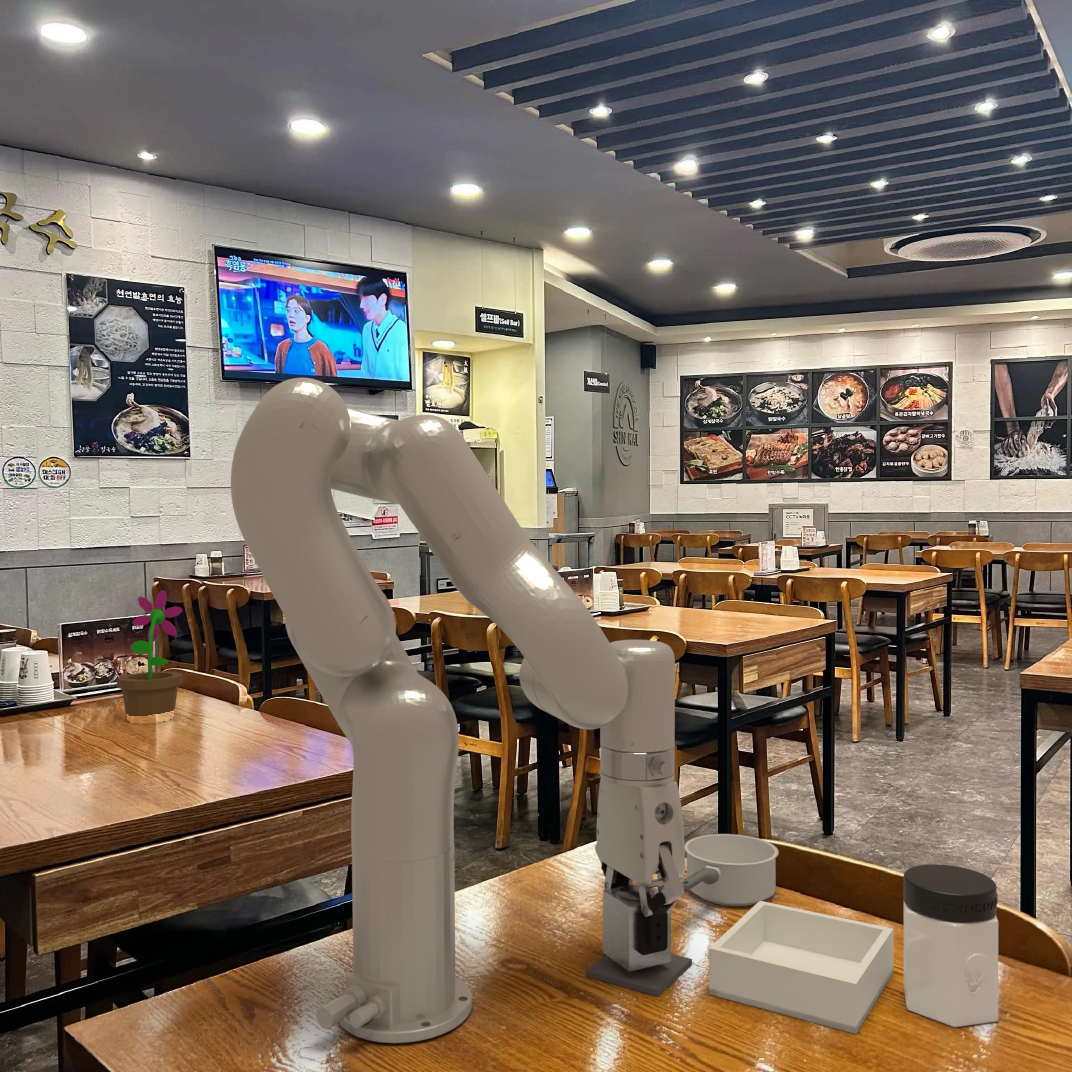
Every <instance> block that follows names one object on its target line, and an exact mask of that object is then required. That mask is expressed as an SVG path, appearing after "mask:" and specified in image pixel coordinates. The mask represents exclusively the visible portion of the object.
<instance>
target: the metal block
mask: <svg viewBox="0 0 1072 1072" xmlns="http://www.w3.org/2000/svg"><path fill="white" fill-rule="evenodd" d="M649 889H650V895H651V899H652V898H653V897H654V896H655V894H656V893H658V889H656V887H654V888H649ZM640 913H642V908H641V901H640V894H639V887H638V883H637V882H636V883H634V884H633V883H632V885H627V886H622V887H617V888H612V889H607V890H605V889H602V953H603V954H605V955H607V956H609V957H610V958H611V959H613V960H614V961H615V962H617V963H618V964H619V965H621V966H622V967H623V968H625V969H626V970H627V971H629V972H630V971H634V970H638V969H642V968H647V967H651V966H655V965H659V964H663V963H667V962H671V954H672V910H671V911H670V912H668V946H667V949H666V950H664V951H660V952H656V953H652V954H648V955H641V954H640V953H639V952H638V914H640Z"/></svg>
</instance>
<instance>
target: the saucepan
mask: <svg viewBox="0 0 1072 1072" xmlns="http://www.w3.org/2000/svg"><path fill="white" fill-rule="evenodd" d="M684 846H685V852H686V878H685V879H683V880H681V882H682V885H683V888H684V893H685V892H687V891H689V890H690V891H691V892H692V893H693V894H695V895H697V896H698V897H700V898H701V899H702V900H704V901H707V902H709V903H713V904H715V905H721V906H726V907H727V906H729V907H745V906H752V905H753V906H754V905H756V904H757V903H758V902H759V901H764V900H766V899H769V898H770V897H772V896H774V895H775V893H776V888H777V887H776V885H777V884H776V858H777V857H778V856H779V853H780V851H779V849H778V848H777V846H775V844H773V843H771V842H769V841H767V840H764V839H761V838H758V837H755V836H754V837H753V836H749V835H742V834H733V833H715V834H705V835H700V836H696V837H693V838H691V839H688V840H687V841H685V842H684Z"/></svg>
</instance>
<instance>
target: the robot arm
mask: <svg viewBox="0 0 1072 1072" xmlns="http://www.w3.org/2000/svg"><path fill="white" fill-rule="evenodd" d="M250 414H251V415H249V417H248V419H247V421H246V423H245V424H244V427H243V429H242V431H241V433H240V435H239V437H238V439H237V443H236V446H235V448H234V452H233V453H234V454H233V458H232V462H231V463H232V464H231V472H230V496H231V502H232V509H233V512H234V517H235V519H236V522H237V525H238V527H239V531H240V533H241V536H242V538H243V540H244V542H245V545H246V546H247V549H249V552H250V554H251V556H252V558H253V559H254V561H255V564H256V565H257V567H258V569H259V571H260V573H261V575H262V577H263V579H264V580H265V582H266V583H265V584H266V585H267V586H268V589H269V590H270V592H271V594H272V595H273V597H274V599H275V601H276V603H277V605H278V606H279V608H280V610H281V611H282V613H283V616H284V619H285V620H284V621H285V629H286V632H287V636H288V638H289V640H290V642H291V645H292V646H293V648H294V651H296V653H297V655H298V657H299V659H300V660H301V662H302V664H303V666H304V668H305V669H306V671H307V673H308V675H309V676H310V678H311V680H312V682H313V684H314V685H315V686H316V688H317V691H318V692H319V694H320V695H321V697H322V699H323V700H324V702H325V704H326V705H327V707H328V709H329V710H330V712H331V714H332V716H333V718H334V720H336V722H337V725H338V726H339V728H340V729H341V731H342V733H343V734H344V736H345V737H346V739H347V740H348V742H349V745H351V747H352V758H353V761H352V762H353V767H352V770H353V773H352V792H351V811H350V812H351V814H350V815H351V817H350V818H351V821H350V823H351V826H350V827H351V830H350V831H351V833H350V834H351V841H350V842H351V843H350V844H351V872H352V873H351V874H352V876H351V878H352V881H351V883H352V884H351V885H352V886H351V887H352V888H351V889H352V958H353V959H352V964H353V965H352V967H353V971H351V972H349V973H348V974H346V975H345V989H343V990H342V991H341V993H340V994H339V995H338V996H339V997H337V998H334V999H333V1000H331V1001H329V1002H327V1003H325V1004H323V1005H322V1006H320V1007H318V1008H317V1011H316V1020H317V1023H318V1025H319V1026H320V1027H321V1028H322V1029H324V1030H329V1029H331V1028H333V1027H334V1026H336V1025H338V1024H339V1025H340V1026H341V1027H342V1028H343V1029H344V1030H345V1031H346V1032H348V1033H349V1034H351V1035H353V1036H355V1037H357V1038H360V1039H362V1040H366V1041H371V1042H375V1043H383V1044H384V1043H385V1044H406V1043H415V1042H420V1041H425V1040H426V1041H427V1040H429V1039H433V1038H435V1037H438V1036H442V1035H444V1034H446V1033H449V1032H450V1031H452V1030H454V1029H456V1028H457V1027H458V1026H460V1025H461V1024H462V1023H463V1022H465V1020H466V1019H467V1018H468V1017H469V1015H470V1013H471V1012H472V1007H473V995H472V991H471V988H470V986H469V985H468V984H467V983H466V982H465V981H464V980H463V979H462V978H460V977H458V976H456V912H455V911H456V909H455V908H456V906H455V905H456V904H455V903H456V901H455V899H456V898H455V897H456V896H455V895H456V893H455V890H456V889H455V887H456V886H455V831H454V825H455V824H454V823H455V820H454V818H455V817H454V816H455V815H454V812H455V809H454V808H455V806H454V804H455V786H456V785H455V784H456V775H457V768H458V767H457V766H458V759H459V747H460V745H459V742H460V736H459V726H458V725H459V724H458V721H457V717H456V713H455V711H454V708H453V705H452V704H451V702H450V701H449V699H448V698H447V696H446V695H445V693H444V692H443V691H442V690H441V689H440V688H439V687H438V685H435V684H434V683H433V682H432V681H431V680H429V679H428V678H426V677H424V676H423V675H421V674H419V672H418V671H417V669H416V667H415V666H414V664H413V662H412V660H411V659H410V657H409V655H408V653H407V651H406V649H405V648H404V646H403V645H402V643H401V641H400V639H399V637H398V635H397V634H396V632H397V627H396V626H397V625H396V618H395V612H394V610H393V608H392V605H391V603H390V601H389V600H388V598H387V595H386V594H385V593H384V592H383V590H382V589H381V587H380V586H379V585H378V583H377V581H376V580H375V578H374V577H373V575H372V573H371V571H370V570H369V567H367V564H366V563H365V560H364V559H363V557H362V556H361V554H360V552H359V551H358V548H357V547H356V546H355V543H354V541H353V540H352V538H351V535H350V533H349V532H348V529H347V528H346V526H345V523H344V522H343V520H342V518H341V515H340V514H339V512H338V510H337V507H336V504H335V501H334V498H333V492H332V490H334V491H339V492H343V493H346V494H350V495H354V496H358V497H362V498H367V499H371V500H377V501H381V502H382V501H383V502H385V503H386V502H387V503H392V504H399V506H400V507H401V509H402V510H403V511H404V513H405V515H406V516H407V518H408V519H409V521H410V522H411V524H413V526H414V528H415V529H416V530H417V532H418V534H419V535H420V537H421V538H422V539H423V541H424V542H425V544H426V546H427V547H428V549H429V550H430V551H431V553H432V554H433V556H434V558H435V560H436V561H437V562H438V564H439V566H440V568H441V569H442V570H443V572H444V573H445V575H446V576H447V578H448V579H449V581H450V582H451V584H452V585H453V587H454V588H455V589H456V590H457V591H458V592H459V593H460V595H462V596H463V598H464V599H465V600H466V601H467V602H468V603H469V604H471V605H472V606H473V607H474V608H476V609H477V610H478V611H479V612H481V613H482V614H483V615H485V616H486V617H487V618H488V619H490V620H491V621H492V623H494V624H495V625H496V626H497V627H498V628H499V629H500V630H501V631H502V632H503V633H504V634H505V635H506V637H507V638H508V639H509V640H510V641H511V643H512V644H514V646H515V647H516V648H517V649H518V651H519V652H520V653H521V655H522V656H523V660H522V661H521V663H520V668H519V683H520V687H521V690H522V691H523V693H524V695H525V696H526V698H527V699H528V700H529V702H531V703H532V704H533V705H534V706H535V707H537V708H538V709H540V710H542V711H543V712H546V713H547V714H549V715H551V716H552V717H556V718H557V719H559V720H561V721H562V722H563V723H566V724H568V725H569V726H572V727H575V728H577V729H581V730H596V729H600V734H599V736H600V737H599V739H600V740H599V742H600V745H599V746H600V752H599V753H600V754H599V755H600V758H599V760H600V762H599V763H600V771H599V774H600V780H599V781H600V782H599V788H598V789H599V790H598V798H597V812H596V815H597V816H596V844H595V847H594V852H595V853H596V855H597V857H598V859H599V862H600V865H601V867H600V868H601V870H602V873H603V876H604V884H603V885H604V887H603V888H604V890H607V889H612V888H617V887H622V886H627V885H632V884H633V883H634V882H635V883H636V884H637V883H638V887H639V894H640V901H641V908H642V913H640V914H638V952H639V953H640V954H641V955H648V954H652V953H656V952H660V951H664V950H666V949H667V946H668V912H670V911H671V912H672V907H673V905H674V904H675V903H676V901H678V900H679V898H681V897H682V896H684V894H685V892H684V888H683V885H682V881H683V880H684V877H685V873H686V853H685V852H686V851H685V846H684V844H685V830H684V818H683V809H682V802H681V801H682V800H681V794H680V792H679V791H680V790H679V786H678V782H677V781H675V761H676V759H675V758H676V757H675V756H676V755H675V749H676V748H675V738H676V737H675V733H676V731H675V730H676V729H675V725H676V721H675V719H676V718H675V715H676V714H675V712H676V708H675V707H676V705H675V703H676V701H675V700H676V694H675V693H676V692H675V691H676V690H675V689H676V661H675V659H676V658H675V653H674V651H673V649H672V648H671V646H670V645H669V644H667V643H665V642H662V641H658V640H657V641H656V640H649V639H623V640H622V639H621V640H615V641H612V642H611V641H609V639H608V638H607V636H606V634H605V633H604V631H603V630H602V628H601V626H600V625H599V624H598V622H597V621H596V619H595V618H594V616H593V614H592V613H591V611H590V610H589V608H587V606H586V605H585V604H584V602H583V601H582V600H581V598H580V597H579V596H578V594H576V592H575V591H574V590H573V589H572V587H571V586H570V585H569V584H568V583H567V582H566V580H565V579H564V578H563V577H562V576H561V574H559V572H557V570H556V569H555V568H554V566H552V564H551V563H550V562H549V560H548V559H547V557H546V556H545V555H543V553H542V552H541V551H540V550H539V549H538V548H537V547H536V546H535V545H534V544H533V542H532V540H531V539H530V538H529V537H528V536H527V534H526V532H525V531H524V529H523V528H522V527H521V525H520V524H519V522H518V521H517V519H516V517H515V516H514V514H513V512H512V511H511V510H510V508H509V507H508V505H507V503H506V502H505V500H504V498H503V497H502V495H501V494H500V493H499V491H498V489H497V488H496V486H495V485H494V483H493V481H492V480H491V479H490V477H489V475H488V474H487V472H486V471H485V469H484V467H483V465H482V464H481V462H480V461H479V460H478V458H477V457H476V455H475V453H474V452H473V450H472V449H471V447H470V446H469V444H468V442H467V441H466V440H465V438H464V436H463V435H462V434H461V432H460V431H459V430H458V429H456V427H455V426H454V425H453V424H452V423H451V422H449V421H448V420H447V419H445V418H443V417H441V416H438V415H434V414H418V415H417V414H416V415H412V416H409V417H406V418H403V419H395V418H390V417H385V416H381V415H377V414H372V413H370V412H365V411H362V410H361V411H360V410H357V409H354V408H350V407H347V405H346V403H345V402H344V399H343V398H342V396H340V394H339V393H338V392H337V390H335V389H333V387H331V386H330V385H328V384H326V383H325V382H323V381H321V380H318V379H315V378H309V377H295V378H290V379H286V380H283V381H282V382H280V383H278V384H276V385H275V386H272V388H271V389H270V390H268V391H267V392H266V393H265V394H264V395H263V396H262V398H261V399H260V401H259V402H258V403H257V405H256V406H255V407H254V409H253V411H252V413H250ZM653 875H656V877H657V878H655V879H653ZM649 888H657V890H658V893H656V894H655V896H654V897H653V898H652V899H651V895H650V889H649Z"/></svg>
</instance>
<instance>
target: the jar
mask: <svg viewBox="0 0 1072 1072" xmlns="http://www.w3.org/2000/svg"><path fill="white" fill-rule="evenodd" d="M997 888H998V887H997V884H996V882H995V881H994V880H993V878H991V877H989V876H987V875H986V874H984V873H981V872H979V871H976V870H973V869H969V868H966V867H961V866H957V865H949V864H936V863H935V864H922V865H921V864H920V865H916V866H912V867H910V868H908V869H906V870H905V872H904V873H903V990H904V991H903V992H904V997H905V998H904V999H905V1006H906V1009H907V1010H908V1011H910V1012H913V1013H915V1014H917V1015H920V1016H923V1017H926V1018H929V1019H931V1020H934V1021H937V1022H938V1023H942V1024H944V1025H947V1026H949V1027H952V1028H960V1027H961V1028H962V1027H967V1026H973V1025H982V1024H989V1023H995V1022H998V1021H999V920H998V917H997V909H998V908H997V905H999V904H998V903H999V901H998V896H999V895H998V893H997V892H998V891H997Z"/></svg>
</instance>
